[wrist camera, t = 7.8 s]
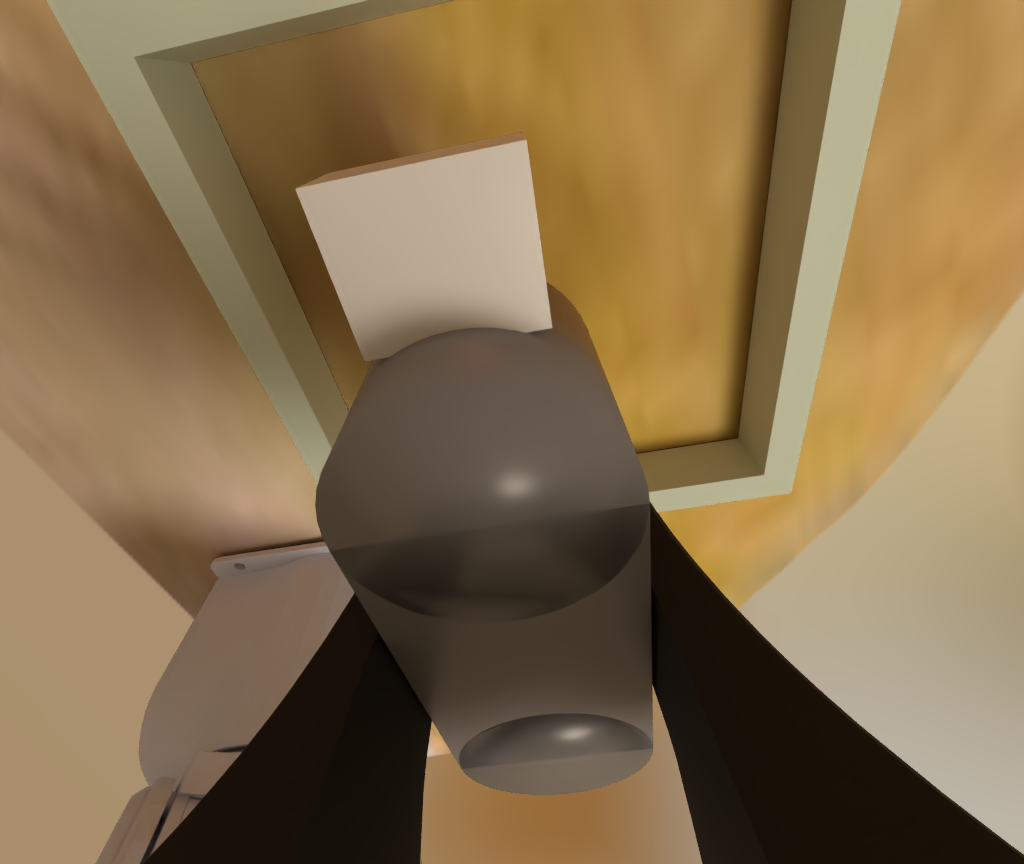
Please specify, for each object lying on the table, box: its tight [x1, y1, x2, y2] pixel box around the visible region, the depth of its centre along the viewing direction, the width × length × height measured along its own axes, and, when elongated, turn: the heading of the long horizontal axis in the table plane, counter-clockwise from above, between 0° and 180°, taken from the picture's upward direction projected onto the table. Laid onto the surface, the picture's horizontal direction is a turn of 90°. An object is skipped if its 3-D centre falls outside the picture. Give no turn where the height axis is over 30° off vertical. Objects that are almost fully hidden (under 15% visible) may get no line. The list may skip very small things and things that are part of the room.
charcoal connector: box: [295, 132, 653, 795], centre depth 9 cm, size 4×13×4 cm, turn 10°
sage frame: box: [46, 0, 901, 512], centre depth 15 cm, size 18×18×2 cm
